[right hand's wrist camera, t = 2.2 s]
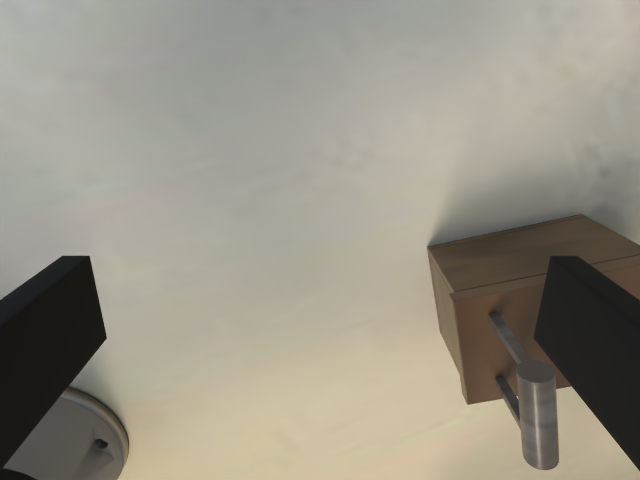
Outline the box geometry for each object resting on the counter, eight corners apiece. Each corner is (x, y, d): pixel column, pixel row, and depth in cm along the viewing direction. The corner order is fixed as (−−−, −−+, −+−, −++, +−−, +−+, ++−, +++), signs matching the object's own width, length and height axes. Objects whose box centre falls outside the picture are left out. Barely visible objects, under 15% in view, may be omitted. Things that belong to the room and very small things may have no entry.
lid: (462, 393, 35) (506, 493, 26) (448, 292, 31) (493, 371, 23) (647, 360, 33) (752, 453, 25) (652, 252, 30) (776, 319, 22)
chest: (439, 331, 43) (467, 392, 35) (426, 246, 39) (454, 291, 31) (583, 303, 41) (646, 359, 33) (582, 213, 38) (652, 251, 30)
